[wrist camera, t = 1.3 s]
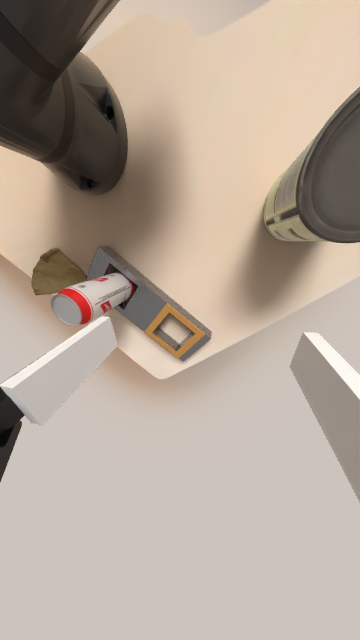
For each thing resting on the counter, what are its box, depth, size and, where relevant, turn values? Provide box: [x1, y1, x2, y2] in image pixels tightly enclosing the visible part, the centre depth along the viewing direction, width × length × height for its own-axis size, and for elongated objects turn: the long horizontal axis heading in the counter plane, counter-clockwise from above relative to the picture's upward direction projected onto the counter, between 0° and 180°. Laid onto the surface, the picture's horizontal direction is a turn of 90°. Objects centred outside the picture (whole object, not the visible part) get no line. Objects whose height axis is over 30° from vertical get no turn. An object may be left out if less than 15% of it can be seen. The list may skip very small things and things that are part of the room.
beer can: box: [51, 272, 135, 326], centre depth 30 cm, size 6×6×16 cm
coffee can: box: [263, 87, 360, 243], centre depth 18 cm, size 10×10×14 cm
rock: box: [32, 248, 86, 295], centre depth 36 cm, size 11×9×10 cm
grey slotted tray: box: [85, 246, 211, 362], centre depth 36 cm, size 30×10×3 cm, turn 53°
